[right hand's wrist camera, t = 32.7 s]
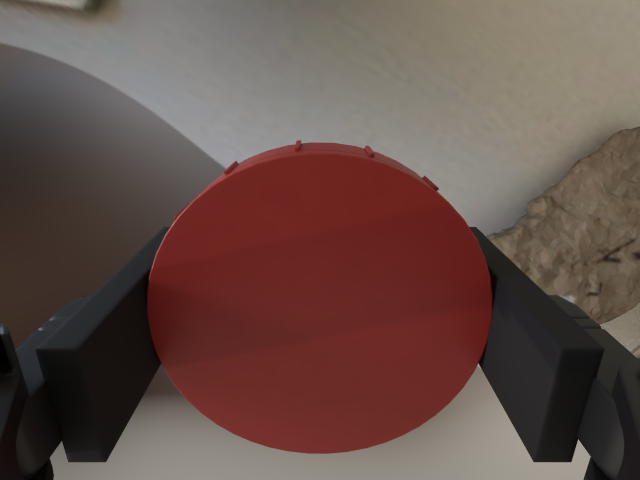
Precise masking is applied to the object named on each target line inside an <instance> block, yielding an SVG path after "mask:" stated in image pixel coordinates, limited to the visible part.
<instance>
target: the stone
mask: <svg viewBox="0 0 640 480" xmlns="http://www.w3.org/2000/svg"><path fill="white" fill-rule="evenodd" d="M526 209H527V215H525V216H522V217H520V218H519V219H518V220H517V222H516V224H515V225H514V227H512V228H508V229H505V230H502V231H501V232H500V233H493V234H491V235H488V236H486V237H487V238H488V239H489V240H490V241H491V242H492V243H493V244H494V245H495V246H496V247H497V248H498V249H499V250H500V251H501V252H503V253H504V254H505V255H506V256H507V257H508V258H509V259H510V260H511V261H512V262H513V263H514V264H515V265H516V266H517V267H518V268H519V269H521V270H522V271H523V272H524V273H525V274H526V275H527V276H528V277H529V278H530V279H531V280H532V281H533V282H534V283H535V284H536V285H537V286H539V287H540V288H541V289H542V290H543V291H544V292H545V293H546V294H547V295H558V296H560V297H562V298H564V299H566V300H568V301H570V302H572V303H574V304H576V305H577V306H578V307H579V308H580V309H582V310H583V311H584V312H585V313H586V314H587V315H588V316H590V319H593V320H594V321H595V322H596V323H598V324H602V323H605V322H608V321H610V320H612V319H614V318H616V317H618V316H620V315H622V314H624V313H626V312H627V311H629V310H631V309H632V308H634V307H635V306H636V305H637V304H638V303H639V302H640V127H637V128H634V129H631V130H630V129H624V130H621V131H619V132H617V133H615V134H614V135H613V136H612V137H610V138H609V139H608V140H607V141H606V142H605V143H604V144H603V145H602V146H601V147H600V148H599V150H598V151H597V152H596V153H592V154H590V155H589V156H587V157H585V158H583V159H580V160H578V161H577V162H576V164H575V165H574V166H573V167H572V169H571V170H570V171H569V172H568V173H566V174H565V176H564V178H563V179H562V180H561V181H560V182H559V183H558V184H557V185H555V186H553V187H551V188H549V189H547V190H546V191H545V192H544V193H543V194H542V195H541V196H539V197H538V198H536V199H534V200H531V201H530V202H529V203H528V204H527V205H526Z"/></svg>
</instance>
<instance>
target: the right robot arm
mask: <svg viewBox="0 0 640 480" xmlns="http://www.w3.org/2000/svg"><path fill="white" fill-rule="evenodd" d="M469 228H470V229H471V231H472V233H473V234H474V236H475V237H476V238H477V239H478V243H479V246H480V248H481V250H482V252H483V254H484V257H485V260H486V263H487V267H488V270H489V274H490V278H491V286H492V295H493V306H492V318H491V324H490V329H489V335H488V340H487V343H486V346H485V349H484V352H483V355H482V357H481V359H480V361H479V365H480V367H481V369H482V370H483V372H484V374H485V376H486V378H487V379H488V381H489V383H490V385H491V386H492V388H493V390H494V392H495V394H496V395H497V397H498V399H499V401H500V403H501V404H502V406H503V408H504V410H505V411H506V413H507V415H508V417H509V419H510V420H511V422H512V424H513V426H514V428H515V429H516V431H517V433H518V435H519V436H520V438H521V440H522V442H523V444H524V445H525V447H526V449H527V451H528V453H529V454H530V456H531V458H532V460H533V462H571V461H572V458H573V455H574V451H575V448H576V444H577V441H578V439H579V441H580V442H581V443H582V445H583V446H584V448H585V449H586V450H587V452H588V453H589V454H590V456H591V458H590V461H589V464H588V467H587V470H586V474H585V477H584V480H640V359H637V358H636V357H635V356H634V355H633V354H632V353H631V352H629V351H628V350H627V349H626V348H625V347H624V346H623V345H621V344H620V343H619V342H618V341H617V340H616V339H615V338H613V337H612V336H611V335H610V334H609V333H608V332H607V331H606V330H604V329H601V326H600V325H599V324H598V323H596V322H595V321H594V320H593V319H590V316H588V315H587V314H586V313H585V312H584V311H583V310H582V309H580V308H579V307H578V306H577V305H576V304H574V303H572V302H570V301H568V300H566V299H564V298H562V297H560V296H558V295H547V294H546V293H545V292H544V291H543V290H542V289H541V288H540V287H539V286H537V285H536V284H535V283H534V282H533V281H532V280H531V279H530V278H529V277H528V276H527V275H526V274H525V273H524V272H523V271H522V270H521V269H519V268H518V267H517V266H516V265H515V264H514V263H513V262H512V261H511V260H510V259H509V258H508V257H507V256H506V255H505V254H504V253H503V252H501V251H500V250H499V249H498V248H497V247H496V246H495V245H494V244H493V243H492V242H491V241H490V240H489V239H488V238H487V237H486V236H485V235H483V234H482V233H481V232H480V231H479V230H478V229H477V228H476V227H469ZM169 229H170V227H164V228H163V229H162V230H161V231H159V232H158V233H157V234H156V235H155V236H154V237H153V238H152V239H151V240H150V241H149V242H148V243H147V244H146V245H145V246H144V247H142V248H141V249H140V250H139V251H138V252H137V253H136V254H135V255H134V256H133V257H132V258H131V259H130V260H129V261H128V262H127V263H126V264H124V265H123V266H122V267H121V268H120V269H119V270H118V271H117V272H116V273H115V274H114V275H113V276H112V277H111V278H110V279H109V280H108V281H106V282H105V283H104V284H103V285H102V286H101V287H100V288H99V289H98V290H97V291H96V292H95V293H94V294H93V295H92V296H83V297H81V298H79V299H77V300H75V301H73V302H71V303H69V304H67V305H66V306H64V307H63V308H61V309H60V310H59V311H58V312H57V313H56V314H55V315H53V316H52V317H51V318H50V321H47V322H45V323H44V324H43V325H42V326H41V327H40V328H39V331H35V332H34V333H33V334H32V335H31V336H30V337H29V338H27V339H26V340H25V341H24V342H23V343H22V344H21V345H19V346H18V347H17V348H16V349H15V347H14V344H13V341H12V338H11V335H10V331H9V328H8V327H7V326H5V325H3V324H1V323H0V480H53V477H54V474H53V468H52V464H51V461H50V456H51V455H52V454H53V452H54V451H55V449H56V448H57V447H58V445H59V444H60V442H61V441H62V442H63V446H64V449H65V452H66V456H67V459H68V462H106V461H107V459H108V457H109V456H110V454H111V452H112V450H113V449H114V447H115V445H116V443H117V441H118V440H119V438H120V436H121V434H122V432H123V431H124V429H125V427H126V425H127V423H128V422H129V420H130V418H131V416H132V415H133V413H134V411H135V409H136V407H137V406H138V404H139V402H140V400H141V398H142V397H143V395H144V393H145V391H146V390H147V388H148V386H149V384H150V382H151V381H152V379H153V377H154V375H155V373H156V372H157V370H158V368H159V366H160V365H161V362H160V360H159V358H158V355H157V353H156V351H155V348H154V344H153V341H152V337H151V332H150V326H149V320H148V314H147V290H148V283H149V276H150V272H151V268H152V265H153V262H154V259H155V256H156V253H157V251H158V249H159V247H160V245H161V243H162V241H163V239H164V237H165V235H166V233H167V232H168V230H169Z"/></svg>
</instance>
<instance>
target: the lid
mask: <svg viewBox="0 0 640 480" xmlns="http://www.w3.org/2000/svg"><path fill="white" fill-rule="evenodd" d="M438 189H439V188H438V187H437V186H436V185H435V184H434V183H432V182H431V181H430V180H429V179H428V178H427V177H426V176H424V177H423V178H421V177H420V176H419V175H418V174H416V173H415V172H414V171H412V170H410V169H409V168H407V167H406V166H404V165H402V164H401V163H399V162H397V161H395V160H393V159H391V158H389V157H386V156H384V155H382V154H379V153H377V152H374V151H372V149H371V148H370V147H369V146H365V149H363V148H360V147H356V146H350V145H344V144H337V143H304V144H301V140H299V141H297V142H296V145H288V146H284V147H280V148H276V149H272V150H269V151H265V152H263V153H261V154H258V155H256V156H253V157H251V158H248V159H246V160H244V161H243V162H241V163H239V164H238V163H237V161H235V162H234V163H232V164H231V165H230V166H229V167H228V168H227V169H226V170H225V171H224V173H223V174H222V175H221V176H220V177H218V178H217V179H216V180H215V181H213V182H212V183H211V184H210V185H209V186H208V187H207V188H206V189H204V190H203V191H202V192H201V193H200V194H199V195H198V196H197V197H196V198H195V199H194V200H193V201H192V202H191V203H189V204H188V205H187V206H186V207H184V208H183V209H182V210H181V211H180V212H179V213H178V214H177V215H176V216H175V217H174V220H175V222H174V223H173V224H172V226H171V227H170V229H169V230H168V232H167V233H166V235H165V237H164V239H163V241H162V243H161V245H160V247H159V249H158V251H157V253H156V256H155V259H154V262H153V265H152V268H151V272H150V276H149V283H148V290H147V314H148V320H149V326H150V332H151V337H152V341H153V344H154V348H155V351H156V353H157V355H158V358H159V360H160V362H161V364H162V366H163V368H164V370H165V371H166V373H167V375H168V376H169V378H170V379H171V381H172V382H173V384H174V385H175V386H176V388H177V389H178V390H179V391H180V392H181V394H182V395H183V396H184V397H185V398H186V399H187V400H188V401H189V402H190V403H191V404H192V405H193V406H194V407H195V408H196V409H197V410H198V411H200V412H201V413H202V414H203V415H205V416H206V417H207V418H209V419H210V420H212V421H213V422H214V423H216V424H217V425H219V426H221V427H222V428H224V429H226V430H228V431H229V432H231V433H233V434H235V435H238V436H240V437H242V438H244V439H247V440H249V441H252V442H254V443H258V444H261V445H264V446H267V447H271V448H276V449H280V450H285V451H291V452H300V453H321V454H328V453H340V452H349V451H354V450H359V449H364V448H369V447H372V446H375V445H379V444H382V443H385V442H388V441H390V440H393V439H395V438H397V437H400V436H402V435H404V434H406V433H408V432H410V431H412V430H413V429H415V428H417V427H419V426H421V425H422V424H423V423H425V422H426V421H428V420H429V419H431V418H432V417H434V416H435V415H436V414H437V413H439V412H440V411H441V410H442V409H443V408H444V407H445V406H446V405H448V404H449V403H450V402H451V401H452V399H453V398H454V397H455V396H456V395H457V394H458V393H459V392H460V391H461V390H462V388H463V387H464V386H465V384H466V383H467V381H468V380H469V378H470V377H471V375H472V374H473V372H474V371H475V369H476V367H477V365H478V363H479V361H480V359H481V357H482V355H483V352H484V349H485V346H486V343H487V340H488V335H489V329H490V324H491V318H492V306H493V295H492V286H491V278H490V274H489V270H488V267H487V263H486V260H485V257H484V254H483V252H482V250H481V248H480V246H479V243H478V239H477V238H476V237H475V236H474V234H473V233H472V231H471V229H470V228H469V226H468V225H467V223H466V222H465V220H464V219H463V218H462V217H461V216H460V214H459V213H458V212H457V211H456V210H455V209H454V208H453V207H452V205H451V204H450V203H449V202H448V201H447V200H446V199H445V198H444V197H443V196H441V195H440V194H439V193H438V192H437V190H438Z"/></svg>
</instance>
